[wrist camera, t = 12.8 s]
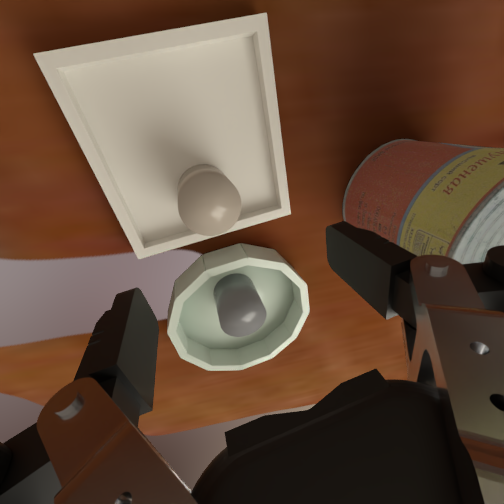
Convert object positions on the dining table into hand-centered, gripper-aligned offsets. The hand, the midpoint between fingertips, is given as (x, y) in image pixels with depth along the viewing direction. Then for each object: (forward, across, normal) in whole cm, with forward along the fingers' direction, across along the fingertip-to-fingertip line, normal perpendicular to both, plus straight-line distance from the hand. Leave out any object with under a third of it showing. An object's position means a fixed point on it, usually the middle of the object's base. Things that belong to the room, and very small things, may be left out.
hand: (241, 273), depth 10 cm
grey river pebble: (+13, 0, +10) cm, 16 cm away
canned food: (+13, -19, +6) cm, 24 cm away
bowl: (+13, 0, +13) cm, 18 cm away
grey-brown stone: (+13, 0, 0) cm, 13 cm away
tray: (+13, 0, -4) cm, 14 cm away
